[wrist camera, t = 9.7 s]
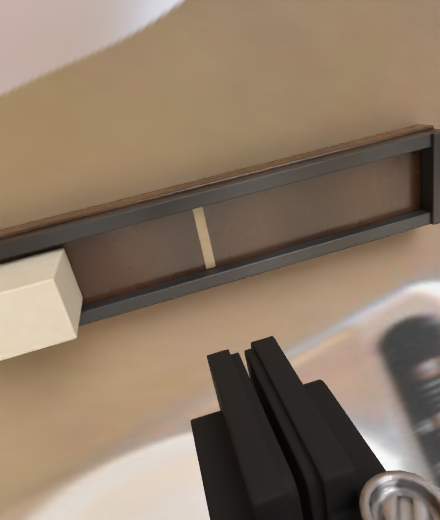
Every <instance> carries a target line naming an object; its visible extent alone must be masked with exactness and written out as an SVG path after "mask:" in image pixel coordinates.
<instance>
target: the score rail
mask: <svg viewBox="0 0 440 520" xmlns="http://www.w3.org/2000/svg"><path fill="white" fill-rule="evenodd" d="M438 223H440V129H434V127H433V126H431V125H415V126H411V127H407V128H403V129H399V130H395V131H391V132H387V133H383V134H379V135H375V136H371V137H367V138H363V139H359V140H355V141H351V142H347V143H343V144H339V145H335V146H331V147H327V148H323V149H319V150H316V151H312V152H308V153H304V154H300V155H296V156H292V157H288V158H284V159H280V160H276V161H272V162H268V163H264V164H260V165H256V166H252V167H248V168H244V169H240V170H236V171H232V172H228V173H224V174H220V175H216V176H212V177H209V178H205V179H201V180H197V181H193V182H189V183H185V184H181V185H177V186H173V187H169V188H165V189H161V190H157V191H153V192H149V193H145V194H141V195H137V196H133V197H129V198H125V199H121V200H117V201H113V202H109V203H106V204H102V205H98V206H94V207H90V208H86V209H82V210H78V211H74V212H70V213H66V214H62V215H58V216H54V217H50V218H46V219H42V220H38V221H34V222H30V223H26V224H22V225H18V226H14V227H10V228H6V229H3V230H0V264H1V263H5V262H9V261H13V260H16V259H20V258H24V257H28V256H32V255H35V254H39V253H43V252H47V251H51V250H54V249H58V248H64V249H65V252H66V255H67V257H68V260H69V263H70V265H71V268H72V271H73V273H74V276H75V278H76V281H77V284H78V286H79V289H80V292H81V294H82V297H83V300H82V306H81V313H80V319H79V326H81V325H85V324H88V323H92V322H95V321H99V320H102V319H105V318H109V317H112V316H116V315H119V314H123V313H126V312H130V311H133V310H136V309H140V308H143V307H147V306H150V305H154V304H157V303H160V302H164V301H167V300H171V299H174V298H178V297H181V296H184V295H188V294H191V293H195V292H198V291H202V290H205V289H209V288H212V287H215V286H219V285H222V284H226V283H229V282H233V281H236V280H239V279H243V278H246V277H250V276H253V275H257V274H260V273H263V272H267V271H270V270H274V269H277V268H281V267H284V266H287V265H291V264H294V263H298V262H301V261H305V260H308V259H312V258H315V257H318V256H322V255H325V254H329V253H332V252H336V251H339V250H342V249H346V248H349V247H353V246H356V245H360V244H363V243H366V242H370V241H373V240H377V239H380V238H384V237H387V236H391V235H394V234H397V233H401V232H404V231H408V230H411V229H415V228H418V227H421V226H425V225H428V224H433V225H434V224H438Z"/></svg>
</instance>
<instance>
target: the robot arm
mask: <svg viewBox="0 0 440 520" xmlns="http://www.w3.org/2000/svg"><path fill="white" fill-rule="evenodd" d="M251 348H252V349H248V350H245V357H246V362H247V367H248V372H249V375H248V373H247V371H246V369H245V366H244V364H243V362H242V360H241V357H240V355H239V353H235V354H230V352H229V350H228V349H227V350H224V351H220V352H217V353H214V354H210V355H207V359H208V363H209V367H210V371H211V375H212V379H213V383H214V387H215V390H216V394H217V398H218V402H219V406H220V410H221V411H218V412H215V413H211V414H208V415H205V416H202V417H199V418H195V419H192V420H191V426H192V431H193V436H194V441H195V446H196V451H197V456H198V461H199V466H200V471H201V476H202V481H203V486H204V491H205V496H206V501H207V506H208V511H209V516H210V520H440V489H439V488H438V487H436V486H435V485H434V484H433V483H431V482H430V481H429V480H427V479H425V478H423V477H421V476H419V475H417V474H414V473H410V472H405V471H401V470H400V471H386V470H385V469H384V467H383V466H382V465H381V463H380V462H379V460H378V459H377V457H376V456H375V454H374V453H373V452H372V450H371V449H370V447H369V446H368V444H367V443H366V441H365V440H364V439H363V437H362V436H361V434H360V433H359V431H358V430H357V429H356V427H355V426H354V424H353V423H352V421H351V420H350V418H349V417H348V416H347V414H346V413H345V411H344V410H343V408H342V407H341V406H340V404H339V403H338V401H337V400H336V398H335V397H334V395H333V394H332V393H331V391H330V390H329V388H328V387H327V385H326V384H325V383H324V382H323V381H322V380H317V381H313V382H310V383H307V384H304V385H303V384H302V382H301V381H300V379H299V377H298V376H297V374H296V372H295V371H294V369H293V368H292V366H291V364H290V363H289V361H288V359H287V358H286V356H285V355H284V353H283V351H282V350H281V348H280V346H279V345H278V343H277V342H276V340H275V338H274V337H273V336H271V337H267V338H264V339H261V340H257V341H254V342H251ZM249 376H250V378H249Z"/></svg>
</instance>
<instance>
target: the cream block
mask: <svg viewBox="0 0 440 520" xmlns="http://www.w3.org/2000/svg"><path fill="white" fill-rule="evenodd" d="M82 300H83V297H82V294H81V292H80V289H79V286H78V284H77V281H76V278H75V276H74V273H73V271H72V268H71V265H70V263H69V260H68V257H67V255H66V252H65V249H64V248H58V249H54V250H51V251H47V252H43V253H39V254H35V255H32V256H28V257H24V258H20V259H16V260H13V261H9V262H5V263H1V264H0V361H2V360H5V359H9V358H12V357H15V356H19V355H22V354H25V353H29V352H32V351H36V350H39V349H42V348H46V347H49V346H53V345H56V344H59V343H63V342H66V341H70V340H73V339H76V338H77V332H78V326H79V319H80V313H81V306H82Z"/></svg>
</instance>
